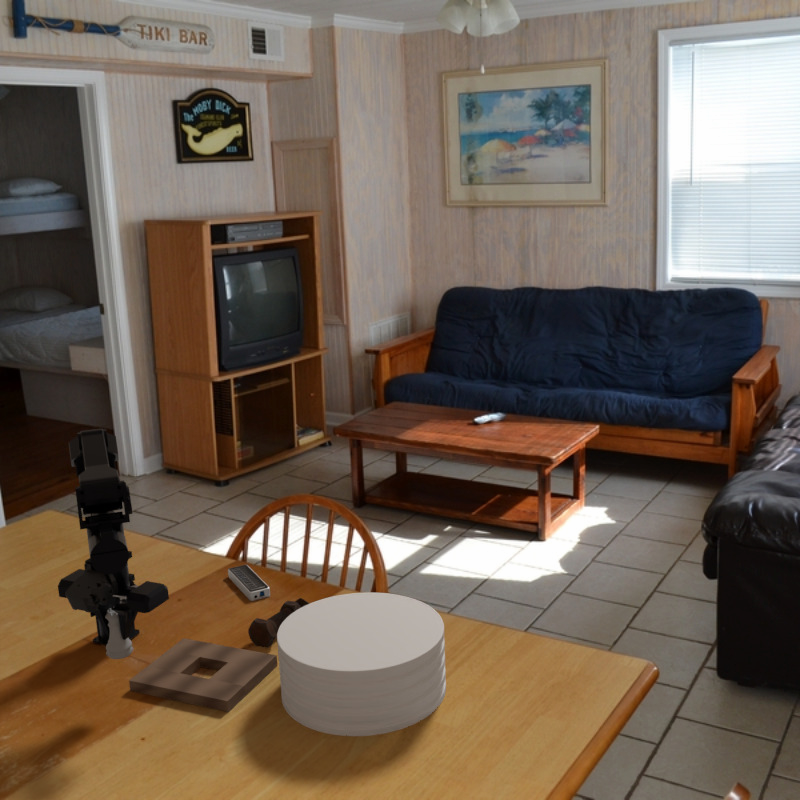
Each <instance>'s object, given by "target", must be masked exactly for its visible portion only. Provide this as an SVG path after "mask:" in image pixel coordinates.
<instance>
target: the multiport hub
mask: <svg viewBox="0 0 800 800" xmlns="http://www.w3.org/2000/svg"><path fill="white" fill-rule="evenodd" d="M227 572H228V573H227V574H228V578H229V579H230V581H232V583H233V584H234V585H235V586H236V587H237V588H238V589H239V591H240V592H241V593H243V595H244V596H245V597H246V598H247V599H248V600H249V601H251V602H253V601H257V600H262V599H265V598H270V597H271V589H270V586H269V585H268V584H267V583H266V582H265V581H264V580H263V579H262V578H261V577H260V576H259V575H258V574H257V573H256V571H254V570H253V569H252V568H251V567H250V566H249V565H248V564H242V565H238V566H234V567H230V568H228V569H227Z"/></svg>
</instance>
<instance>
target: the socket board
mask: <svg viewBox="0 0 800 800" xmlns="http://www.w3.org/2000/svg"><path fill="white" fill-rule="evenodd" d="M277 657H278V655H276V654H271V653H265V652H259V651H255V650H250V649H243V648H239V647H234V646H229V645H228V646H227V645H224V644H223V645H222V644H217V643H212V642H207V641H200V640H195V639H189V638H185V637H184V638H182V639H181V640H179V641H178V642H177V643H175V644H174V645H172V646H171V647H170V648H169V649H168V650H166V651H165V652H164V653H163V654H161V655H160V656H159V657H157V658H155V660H153V661H152V662H151V663H149V664H148V665H146V667H144V668H143V669H142V670H140V671H139V672H138V673H136V674H135V675H134V676H133V677H131V678H130V679H129V680H128V682H129V683H128V684H129V691H130V692H134V693H139V694H144V695H147V696H148V695H149V696H153V697H157V698H162V699H166V700H171V701H176V702H180V703H185V704H190V705H194V706H199V707H204V708H208V709H212V710H218V711H221V712H227V713H229V712H231V710H232V709H234V708H235V707H236V705H238V704H239V703H240V702H241V701H242V700H244V698H245V697H246V696H247V695H248V694H249V693H251V691H252V690H253V689H255V688H256V686H257V685H258V684H260V683H261V682H262V681H263V680H264V679H265V678H266V677H267V676H268V675H269V674H271V672H272V671H273V670H274V669H276V668H277V666H278V658H277ZM200 668H206V669H210V670H215V671H217V672H215V673H214V674H212V675H211V676H210V678H206V677H201V676H197V675H196V676H195V675H193V674H194V673H196V672H197V671H198V670H199V669H200Z"/></svg>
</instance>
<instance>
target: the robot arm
mask: <svg viewBox="0 0 800 800" xmlns="http://www.w3.org/2000/svg"><path fill="white" fill-rule="evenodd" d="M117 442H118V441H117V436H116V435H114V434H111V433H108V431H107V429H104V428H96V429H86V430H80V432H77V436H76V437H74V438H72V439H71V440H69V441H68V448H69V450H68V451H69V456H70V463H71V467H75V470H76V477H77V479H78V483H79V485H78V486H75V488H74V490H75V497H76V507H77V514H78V523H79V529H80V530H86V535H87V543H88V552H89V558H87V559H85V560H84V565H83V567H84V569H82V568H79V569H77V570H74V571H73V572H71V573H70V574H68V575H65V576H64V577H62V578H60V580H59V582H58V585H57V589H58V590H57V591H58V597H60V598H65V599H67V600H68V603H69V605H70V607H71V608H72V610H74V611H78V610H79V611H83V612H85V613H88V614H89V613H90V617H91V618H93V617H94V618H95V624H96V630H97V636H95V637H94V638H93V639H92V643H93V644H94V643H95V644H99V645H105V646H106V645H107V644H108V640H109V637H110V630H109V626H108V623H109V621H108V620H107V619H106V618H105V616H106V614H107V610H108V609H109V608H111V609H112V610H113V611H115V612H116V613H118V617H119V623H120V630H121V635H122V638H123V640H126V639H127V638H128V637H129V639H130V640H132V639H134V637H136V636H137V635H139V634H140V630H139V629H136V626H135V620H136V618H137V615H138V613H141V614H147V613H150V612H152V611H154V610H155V609H156V608H158V607H159V606H161V605H162V604H163V603H165V602H167V601H168V600H170V595H169V588H168V586H167V585H165V584H164V583H161V582H155V581H149V580H146V581H145V582H142V583H141V584H140V585H138V584H136V583H135V580H136V578H135V573H130V572H129V564H128V562H129V559H132V558H133V551H131V550H129V548H128V543H127V539H126V536H125V529H124V524H125V523H130V522H131V521H130V515H132V514H133V506H132V500H131V494H130V493H131V492H130V487H129V486H128V485H127V483H126V482H125V480H121V479H120V475H119V471H118V469H116V468H117V467H116V462H117V461H119V450H118V443H117ZM123 509H124V512H123V511H120V510H123ZM115 511H116V512H115ZM123 513H124V514H123ZM83 515H84V516H85V515H86V516H85V517H84V519H83ZM87 515H88V516H87ZM89 515H90V516H89ZM113 607H114V608H113Z"/></svg>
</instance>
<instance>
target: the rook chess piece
mask: <svg viewBox="0 0 800 800" xmlns="http://www.w3.org/2000/svg"><path fill="white" fill-rule="evenodd" d="M113 608H114V607H113ZM105 618H106V619H107V620H108V621H109V623H108V626H109V630H110V637H109V640H108V644H107V645H105V650H106V652H105V655H106V656H107V657H108V658H110V659H112V660H123V659H125V658H127V657H129V656H131V654H132V653H133V652H134V646H133V641H132V639H129V637H128V638H127V639H126V640H123V638H122V635H121V630H120V623H119V617H118V613H116V612H115V611H113V610H112V609H111V608H109V609H108V610H107V614H106V616H105Z"/></svg>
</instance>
